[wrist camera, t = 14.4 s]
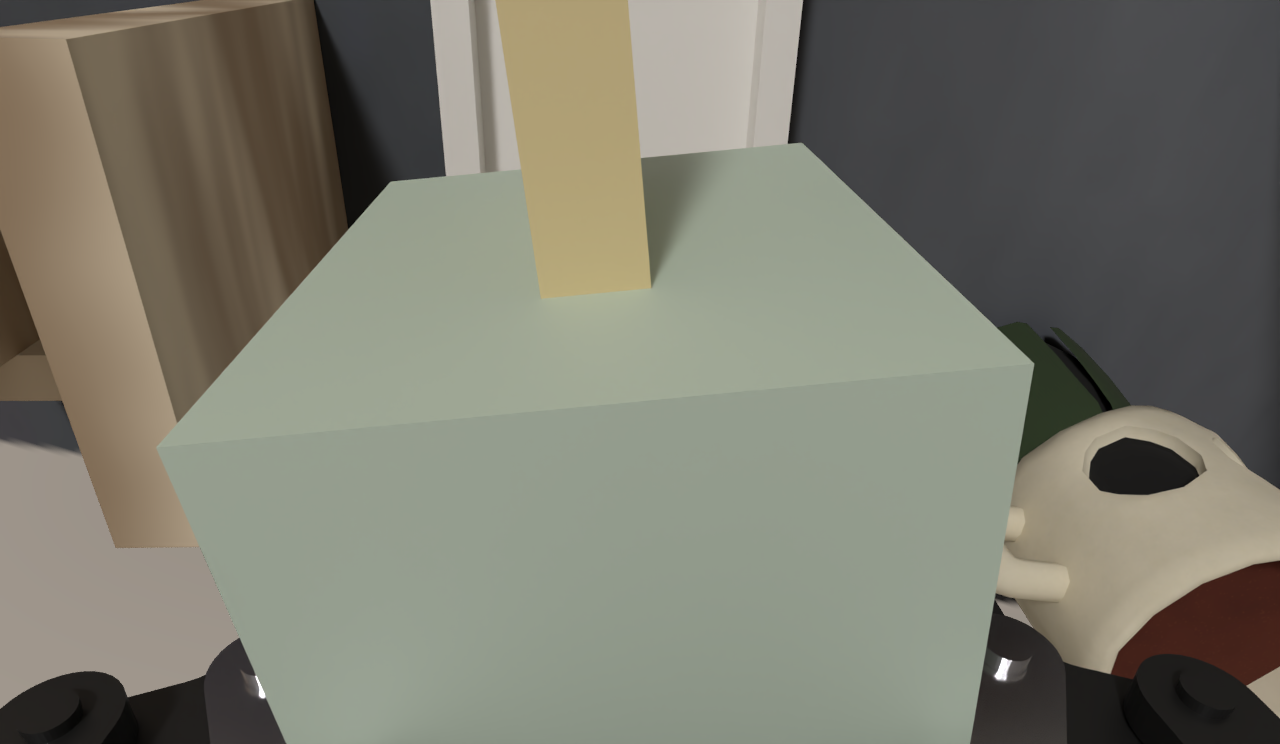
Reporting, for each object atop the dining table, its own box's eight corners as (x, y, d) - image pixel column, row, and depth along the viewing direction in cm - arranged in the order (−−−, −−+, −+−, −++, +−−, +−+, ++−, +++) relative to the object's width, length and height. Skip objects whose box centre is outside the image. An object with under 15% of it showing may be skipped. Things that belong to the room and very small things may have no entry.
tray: (811, -246, 21) (831, -264, 19) (745, 415, 30) (754, 444, 28) (422, -261, 20) (404, -281, 18) (478, 415, 30) (470, 445, 28)
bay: (312, -4, 23) (65, 39, 12) (367, 358, 28) (229, 603, 18) (-111, -14, 22) (-753, 22, 12) (28, 357, 28) (-325, 610, 17)
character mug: (1173, 327, 29) (1545, 572, 18) (1090, 484, 32) (1358, 779, 21) (891, 283, 28) (1094, 517, 16) (833, 452, 31) (969, 747, 20)
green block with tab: (807, -295, 9) (1225, -776, 3) (794, 705, 17) (905, 1127, 11) (291, -247, 9) (-321, -636, 3) (518, 732, 17) (473, 1169, 11)
